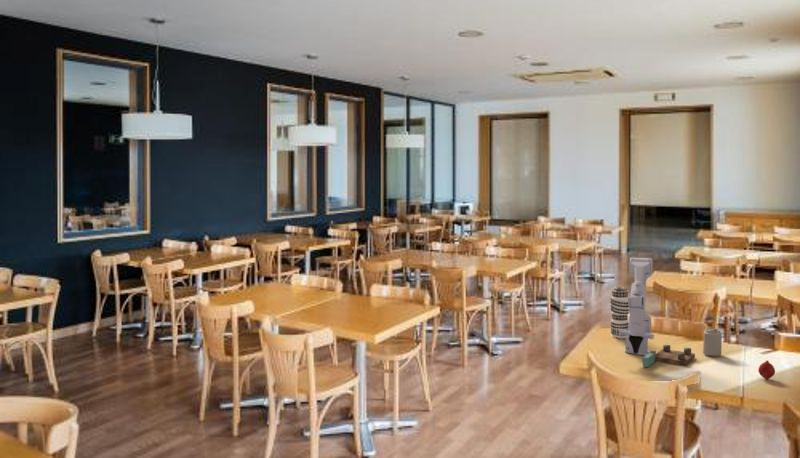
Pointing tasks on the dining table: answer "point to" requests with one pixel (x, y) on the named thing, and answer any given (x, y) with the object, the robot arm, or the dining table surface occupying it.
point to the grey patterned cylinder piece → (619, 311)
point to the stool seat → (675, 356)
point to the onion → (766, 370)
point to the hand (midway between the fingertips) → (636, 352)
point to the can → (712, 342)
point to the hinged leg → (649, 359)
